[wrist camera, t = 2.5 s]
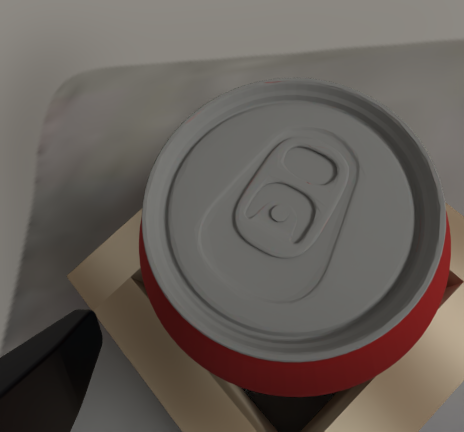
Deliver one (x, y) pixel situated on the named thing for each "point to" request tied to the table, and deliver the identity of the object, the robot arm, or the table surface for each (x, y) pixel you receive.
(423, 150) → the beverage can
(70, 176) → the table surface
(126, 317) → the holder
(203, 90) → the table surface
